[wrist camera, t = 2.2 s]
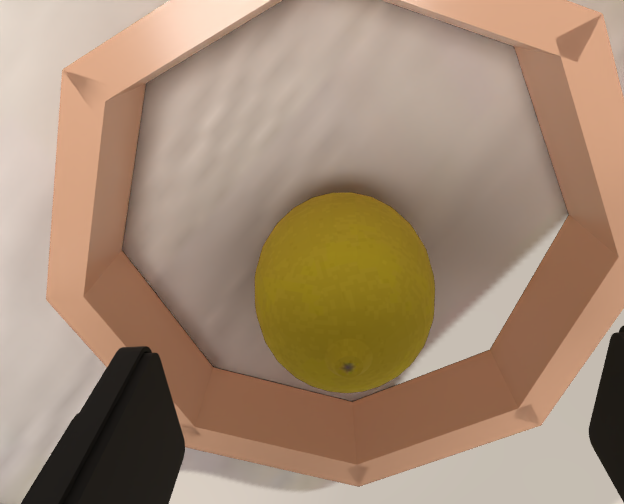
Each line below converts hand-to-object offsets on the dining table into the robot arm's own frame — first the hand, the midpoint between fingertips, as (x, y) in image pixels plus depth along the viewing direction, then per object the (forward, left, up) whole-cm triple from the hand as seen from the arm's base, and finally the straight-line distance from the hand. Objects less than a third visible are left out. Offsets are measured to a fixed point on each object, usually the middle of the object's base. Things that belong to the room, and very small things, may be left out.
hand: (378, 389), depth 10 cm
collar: (-1, 0, -9) cm, 9 cm away
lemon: (-1, 0, -10) cm, 10 cm away
